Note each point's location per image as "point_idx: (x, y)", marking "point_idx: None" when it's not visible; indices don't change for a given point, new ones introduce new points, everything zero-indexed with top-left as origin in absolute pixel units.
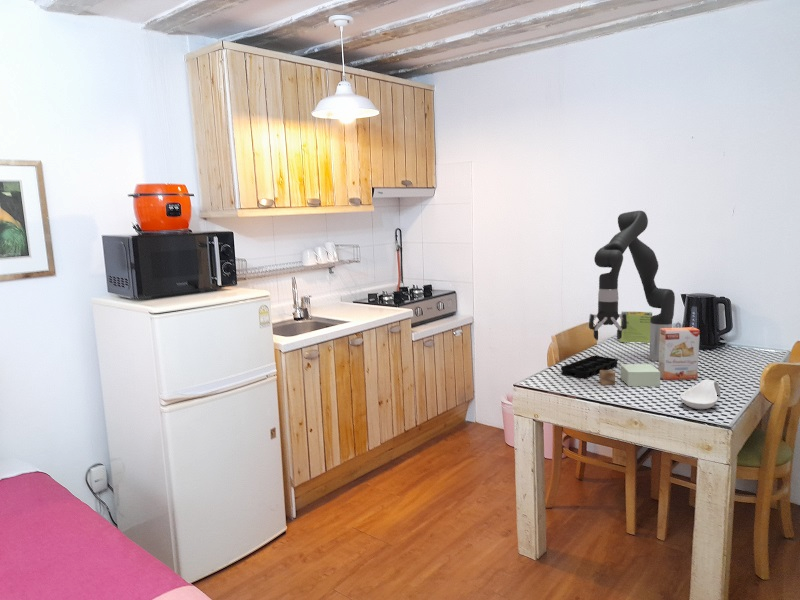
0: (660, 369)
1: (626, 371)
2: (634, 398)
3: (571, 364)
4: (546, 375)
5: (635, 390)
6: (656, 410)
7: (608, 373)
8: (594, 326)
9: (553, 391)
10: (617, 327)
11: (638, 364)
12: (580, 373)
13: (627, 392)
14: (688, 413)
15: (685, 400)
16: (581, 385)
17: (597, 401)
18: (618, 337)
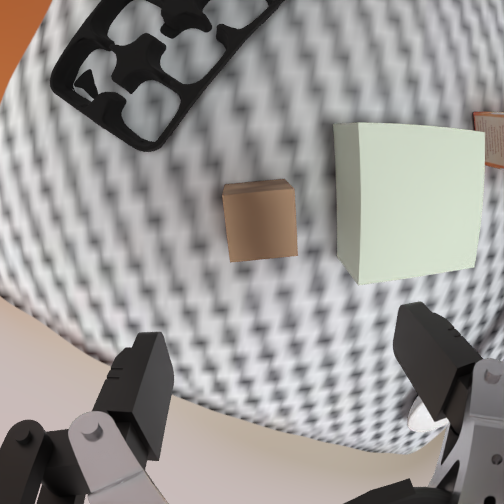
0: (495, 135)
1: (357, 244)
2: (315, 375)
3: (106, 1)
4: (17, 123)
5: (347, 299)
6: (336, 434)
7: (261, 258)
8: (78, 458)
9: (63, 327)
10: (438, 463)
11: (441, 133)
12: (132, 139)
13: (312, 324)
14: (391, 431)
15: (408, 427)
16: (142, 253)
17: (199, 405)
18: (403, 365)
